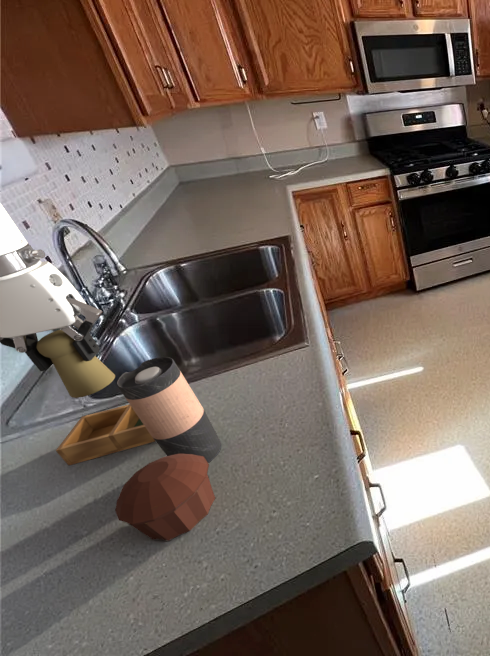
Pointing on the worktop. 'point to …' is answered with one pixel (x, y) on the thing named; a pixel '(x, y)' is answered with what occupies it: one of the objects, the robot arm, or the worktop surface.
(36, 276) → the robot arm
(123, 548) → the worktop surface
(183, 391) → the travel mug
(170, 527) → the muffin
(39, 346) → the cork
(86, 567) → the worktop surface
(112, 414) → the tray
